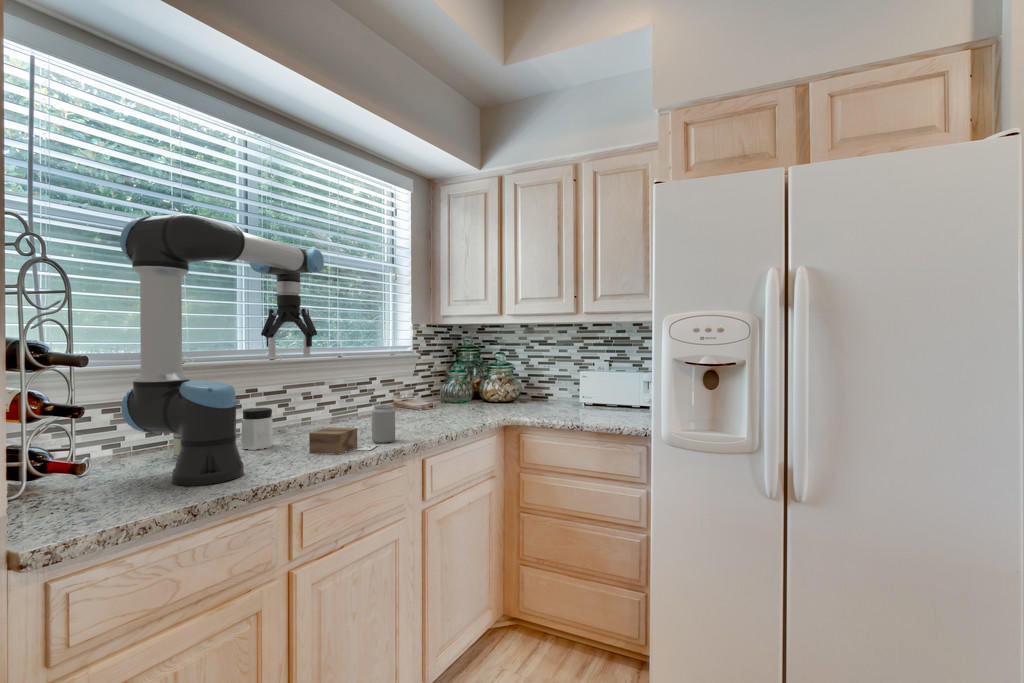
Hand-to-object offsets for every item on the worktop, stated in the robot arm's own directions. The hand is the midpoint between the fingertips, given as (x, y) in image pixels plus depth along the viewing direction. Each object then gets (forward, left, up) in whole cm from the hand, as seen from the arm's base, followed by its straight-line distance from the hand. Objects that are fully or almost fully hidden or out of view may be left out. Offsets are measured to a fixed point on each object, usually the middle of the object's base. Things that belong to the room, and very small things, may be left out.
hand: (289, 356), depth 175 cm
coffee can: (-29, +11, -28) cm, 42 cm away
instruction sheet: (-10, -35, -28) cm, 46 cm away
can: (0, -35, -28) cm, 45 cm away
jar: (-16, 0, -28) cm, 33 cm away
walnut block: (-15, -26, -28) cm, 41 cm away
